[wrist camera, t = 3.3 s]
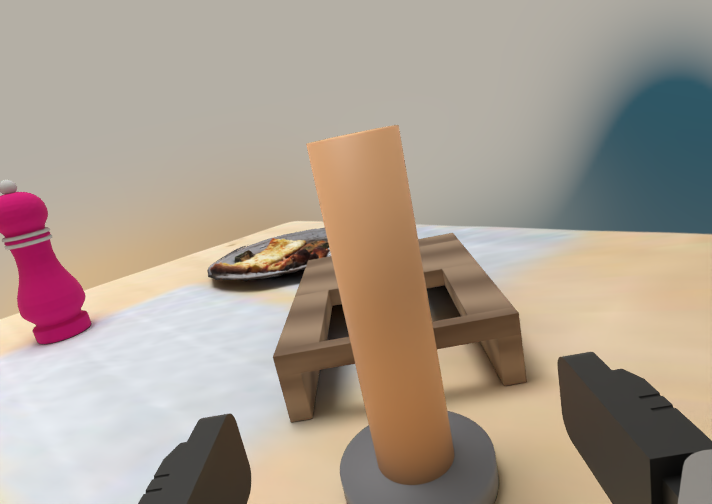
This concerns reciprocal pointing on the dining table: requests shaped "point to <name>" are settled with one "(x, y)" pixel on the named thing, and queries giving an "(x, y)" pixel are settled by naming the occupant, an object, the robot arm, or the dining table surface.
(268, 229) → the dining table surface
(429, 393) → the peg
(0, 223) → the pepper mill
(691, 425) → the robot arm
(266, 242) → the food plate
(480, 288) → the keyhole base
